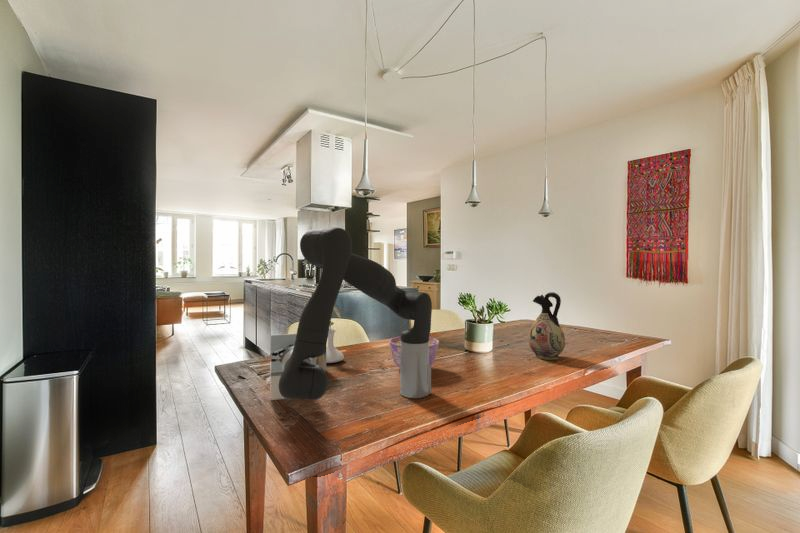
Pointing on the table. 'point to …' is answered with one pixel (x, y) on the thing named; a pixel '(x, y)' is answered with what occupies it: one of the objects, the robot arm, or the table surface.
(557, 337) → the ceramic jug
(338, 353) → the flower in vase
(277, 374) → the crate
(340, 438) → the table surface
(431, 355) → the purple patterned bowl
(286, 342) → the lid
